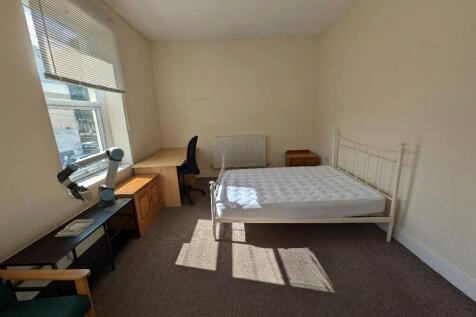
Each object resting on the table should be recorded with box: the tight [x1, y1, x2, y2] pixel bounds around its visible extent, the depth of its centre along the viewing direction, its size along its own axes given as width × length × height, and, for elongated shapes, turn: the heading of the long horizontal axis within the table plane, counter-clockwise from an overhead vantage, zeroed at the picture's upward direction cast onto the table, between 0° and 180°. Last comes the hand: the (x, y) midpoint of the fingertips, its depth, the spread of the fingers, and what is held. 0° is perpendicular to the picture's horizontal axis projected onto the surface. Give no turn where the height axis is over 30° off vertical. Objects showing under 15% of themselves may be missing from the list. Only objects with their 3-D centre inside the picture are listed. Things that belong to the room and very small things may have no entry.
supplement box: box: [79, 189, 95, 208], centre depth 184 cm, size 8×5×13 cm, turn 134°
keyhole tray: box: [54, 218, 96, 238], centre depth 169 cm, size 22×17×2 cm
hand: (91, 200), depth 184 cm, fingers closed on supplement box, 9 cm apart
